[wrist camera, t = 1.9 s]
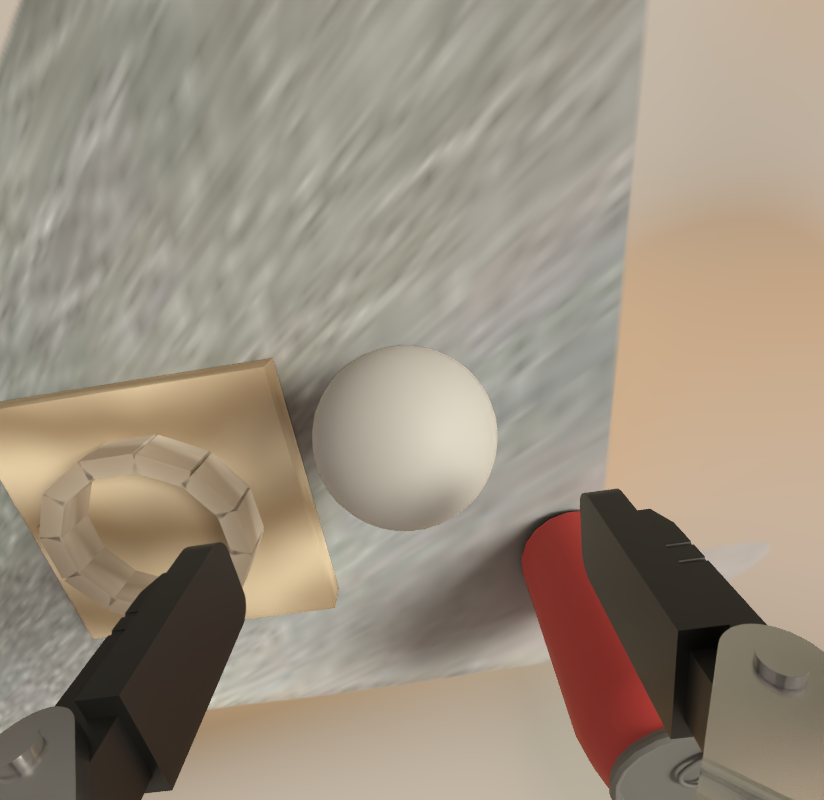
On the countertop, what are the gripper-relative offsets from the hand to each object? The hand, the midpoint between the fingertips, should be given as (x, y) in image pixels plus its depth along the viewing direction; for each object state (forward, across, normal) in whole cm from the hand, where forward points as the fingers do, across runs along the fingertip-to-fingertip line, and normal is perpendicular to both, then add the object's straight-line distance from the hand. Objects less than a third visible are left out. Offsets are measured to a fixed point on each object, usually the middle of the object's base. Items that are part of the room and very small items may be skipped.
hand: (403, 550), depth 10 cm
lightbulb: (+14, 0, 0) cm, 14 cm away
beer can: (+14, -8, +13) cm, 20 cm away
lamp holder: (+13, +14, +6) cm, 20 cm away
